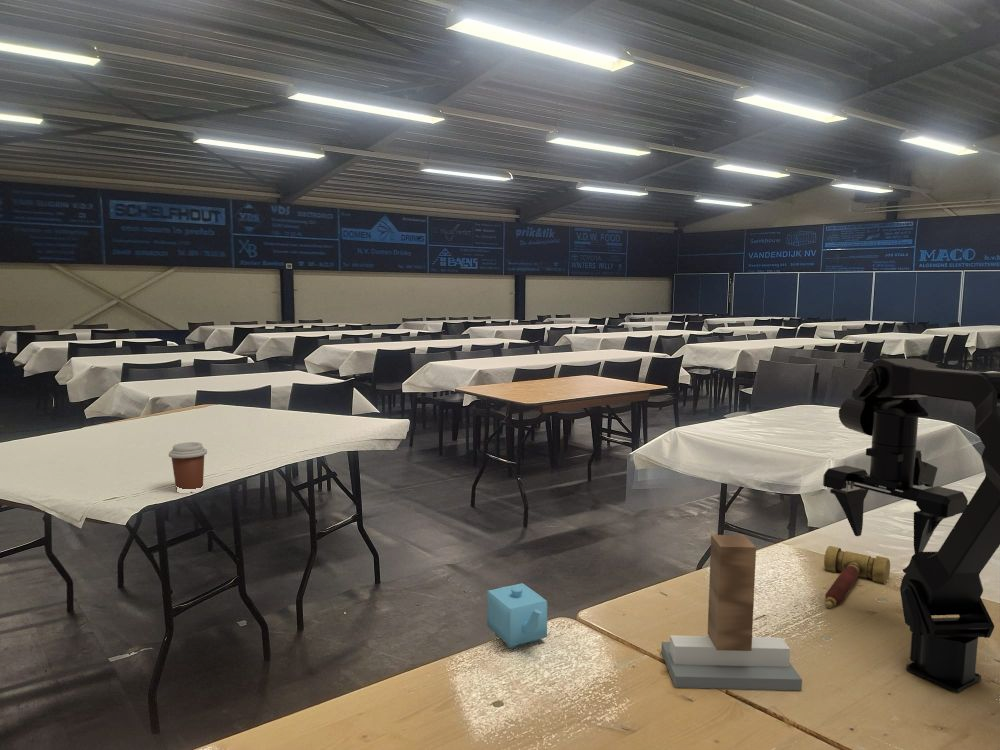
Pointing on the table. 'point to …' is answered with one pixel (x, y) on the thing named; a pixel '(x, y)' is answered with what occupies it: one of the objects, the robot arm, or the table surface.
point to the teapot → (516, 614)
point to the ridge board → (730, 664)
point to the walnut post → (731, 592)
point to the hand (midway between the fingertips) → (886, 544)
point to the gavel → (852, 571)
